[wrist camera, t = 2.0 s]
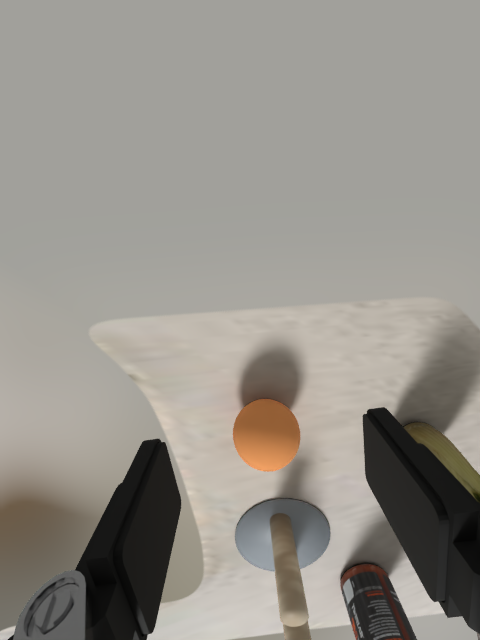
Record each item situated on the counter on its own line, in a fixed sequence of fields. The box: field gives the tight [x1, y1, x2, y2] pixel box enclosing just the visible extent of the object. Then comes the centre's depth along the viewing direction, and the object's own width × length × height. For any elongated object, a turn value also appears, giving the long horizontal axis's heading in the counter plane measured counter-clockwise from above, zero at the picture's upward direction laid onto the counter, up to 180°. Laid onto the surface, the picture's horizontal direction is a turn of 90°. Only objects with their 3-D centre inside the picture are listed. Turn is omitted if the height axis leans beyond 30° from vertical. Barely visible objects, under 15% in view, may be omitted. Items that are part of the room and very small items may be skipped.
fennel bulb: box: [403, 422, 480, 503], centre depth 23 cm, size 6×5×12 cm
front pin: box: [270, 513, 309, 627], centre depth 27 cm, size 2×2×8 cm
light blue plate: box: [235, 499, 330, 572], centre depth 32 cm, size 11×11×1 cm
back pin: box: [283, 620, 311, 640], centre depth 28 cm, size 2×2×8 cm
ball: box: [233, 399, 300, 471], centre depth 25 cm, size 6×6×6 cm
